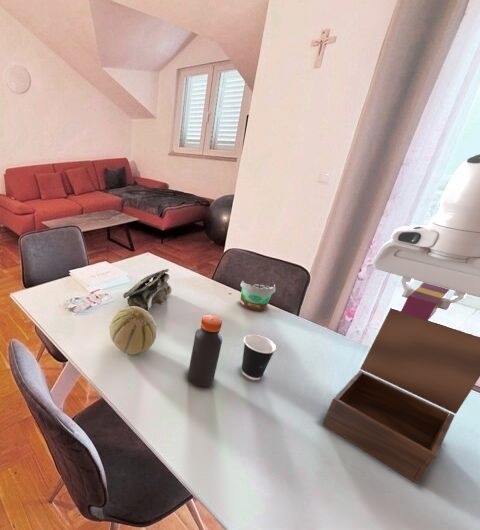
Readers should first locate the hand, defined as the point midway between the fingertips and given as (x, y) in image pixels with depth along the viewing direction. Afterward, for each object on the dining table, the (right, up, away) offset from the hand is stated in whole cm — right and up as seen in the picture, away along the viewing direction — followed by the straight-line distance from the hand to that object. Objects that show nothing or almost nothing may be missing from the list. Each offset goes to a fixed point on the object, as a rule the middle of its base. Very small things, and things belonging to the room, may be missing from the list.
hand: (424, 302), depth 66 cm
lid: (+5, -13, +5) cm, 15 cm away
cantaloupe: (-56, -19, +35) cm, 69 cm away
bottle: (-39, -25, +23) cm, 51 cm away
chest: (-3, -31, +7) cm, 32 cm away
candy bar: (0, -1, +1) cm, 2 cm away
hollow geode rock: (-46, -8, +61) cm, 77 cm away
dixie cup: (-23, -24, +24) cm, 41 cm away
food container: (-4, -9, +57) cm, 58 cm away
